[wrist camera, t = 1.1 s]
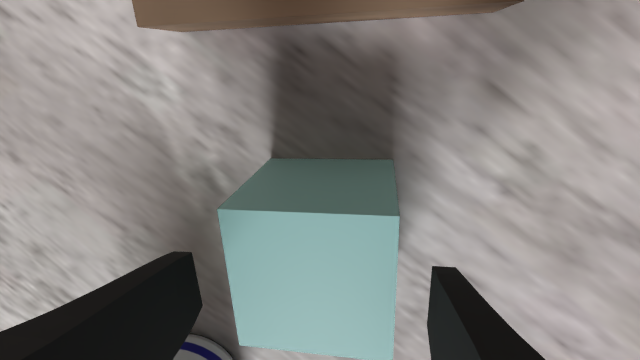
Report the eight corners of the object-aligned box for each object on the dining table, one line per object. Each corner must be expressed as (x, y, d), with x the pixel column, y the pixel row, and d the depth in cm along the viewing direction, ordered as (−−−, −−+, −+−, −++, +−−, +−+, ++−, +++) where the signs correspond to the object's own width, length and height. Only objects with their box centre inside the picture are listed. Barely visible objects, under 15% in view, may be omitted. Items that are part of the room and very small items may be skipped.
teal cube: (392, 159, 13) (399, 216, 8) (389, 266, 15) (392, 362, 10) (271, 158, 14) (217, 209, 9) (281, 259, 16) (239, 345, 11)
